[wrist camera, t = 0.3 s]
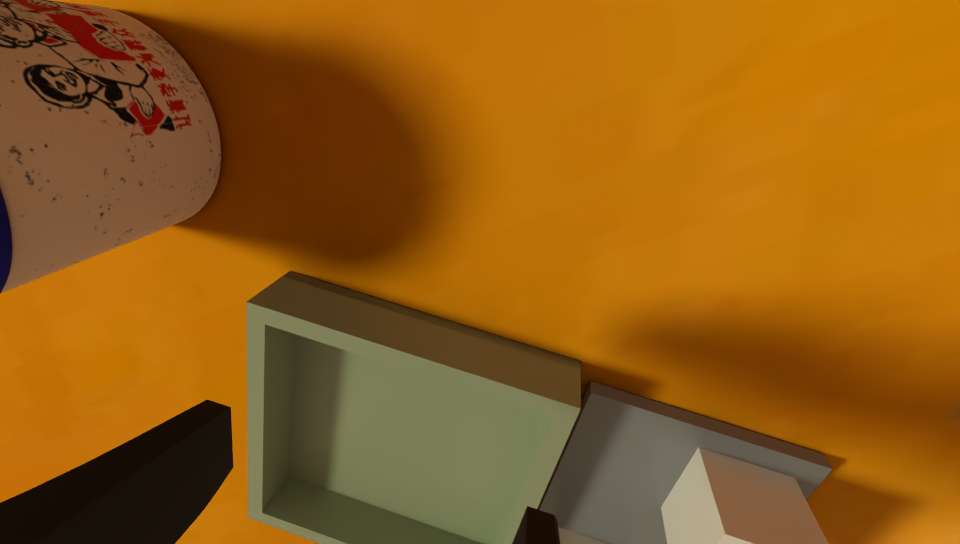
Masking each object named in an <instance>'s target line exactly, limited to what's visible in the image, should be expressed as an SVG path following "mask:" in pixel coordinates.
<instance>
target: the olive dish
mask: <svg viewBox="0 0 960 544" xmlns="http://www.w3.org/2000/svg"><path fill="white" fill-rule="evenodd" d="M580 409H581V362H580V361H577V360H574V359H571V358H567V357H564V356H561V355H558V354H555V353H551V352H548V351H545V350H542V349H539V348H535V347H532V346H529V345H526V344H522V343H519V342H516V341H513V340H510V339H506V338H503V337H500V336H497V335H494V334H490V333H487V332H484V331H481V330H477V329H474V328H471V327H468V326H465V325H461V324H458V323H455V322H452V321H449V320H445V319H442V318H439V317H436V316H432V315H429V314H426V313H423V312H420V311H416V310H413V309H410V308H407V307H404V306H400V305H397V304H394V303H391V302H387V301H384V300H381V299H378V298H375V297H371V296H368V295H365V294H362V293H359V292H355V291H352V290H349V289H346V288H343V287H339V286H336V285H333V284H330V283H326V282H323V281H320V280H317V279H314V278H310V277H307V276H304V275H301V274H298V273H294V272H291V271H289V272H288V273H286V274H285V275H284V276H282V277H281V278H279V279H278V280H277V281H275V282H274V283H272V284H271V285H270V286H268V287H267V288H265V289H264V290H263V291H261V292H260V293H258V294H257V295H256V296H254V297H253V298H251V299H250V300H248V301H247V432H248V518H251V519H254V520H257V521H259V522H262V523H265V524H268V525H270V526H273V527H276V528H279V529H281V530H284V531H287V532H290V533H292V534H295V535H298V536H301V537H304V538H306V539H309V540H312V541H315V542H317V543H320V544H512V543H513V540H514V538H515V535H516V533H517V530H518V528H519V525H520V523H521V520H522V518H523V515H524V513H525V510H526V508H527V506H529V507H532V508H535V509H537V508H538V506H539V503H540V501H541V499H542V496H543V494H544V492H545V490H546V487H547V485H548V483H549V480H550V478H551V476H552V473H553V471H554V469H555V467H556V464H557V462H558V460H559V457H560V455H561V453H562V451H563V448H564V446H565V444H566V441H567V439H568V437H569V435H570V432H571V430H572V428H573V425H574V423H575V421H576V419H577V416H578V414H579V412H580Z"/></svg>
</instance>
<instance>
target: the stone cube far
mask: <svg viewBox="0 0 960 544" xmlns="http://www.w3.org/2000/svg"><path fill="white" fill-rule="evenodd" d="M558 531H559V538H560V544H607V543H604V542H601V541H598V540H595V539H592V538H589V537H586V536H583V535H580V534H577V533H575V532H572V531H569V530H566V529H563V528H560V527H558Z"/></svg>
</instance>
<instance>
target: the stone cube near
mask: <svg viewBox="0 0 960 544" xmlns="http://www.w3.org/2000/svg"><path fill="white" fill-rule="evenodd" d="M661 511H662V517H663V522H664V528H665V533H666V539H667V544H828V542H827V540H826V538H825V536H824V534H823V532H822V530H821V528H820V526H819V524H818V522H817V520H816V518H815V516H814V515H813V513H812V511H811V509H810V507H809V505H808V503H807V501H806V499H805V497H804V495H803V493H802V491H801V489H800V487H799V485H798V483H797V481H796V479H795V478H794V477H791V476H788V475H785V474H782V473H779V472H775V471H772V470H769V469H766V468H763V467H760V466H757V465H754V464H750V463H747V462H744V461H741V460H738V459H735V458H732V457H729V456H725V455H722V454H719V453H716V452H713V451H710V450H707V449H704V448H700V447H698V449H697V450H696V452H695V454H694V455H693V457H692V458H691V460H690V462H689V463H688V465H687V466H686V468H685V470H684V471H683V473H682V474H681V476H680V478H679V479H678V481H677V482H676V484H675V486H674V487H673V489H672V490H671V492H670V494H669V495H668V497H667V498H666V500H665V502H664V503H663V505H662V506H661Z"/></svg>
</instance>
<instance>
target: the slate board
mask: <svg viewBox="0 0 960 544" xmlns="http://www.w3.org/2000/svg"><path fill="white" fill-rule="evenodd" d="M698 447H700V448H704V449H707V450H710V451H713V452H716V453H719V454H722V455H725V456H729V457H732V458H735V459H738V460H741V461H744V462H747V463H750V464H754V465H757V466H760V467H763V468H766V469H769V470H772V471H775V472H779V473H782V474H785V475H788V476H791V477H794V478H795V479H796V481H797V483H798V485H799V487H800V489H801V491H802V493H803V495H804V497H805V499H806V500H807V499H808V498H809V497H810V496H811V494H812V493H813V492H814V491H815V490H816V489H817V487H818V486H819V485H820V484H821V483H822V481H823V480H824V479H825V478H826V477H827V475H828V474H829V473H830V472H831V471H832V467H831V465H830V464H829V462H828V461H827V459H826V457H825V456H824V454H822V453H819V452H816V451H812V450H809V449H806V448H803V447H800V446H796V445H793V444H790V443H787V442H784V441H781V440H777V439H774V438H771V437H768V436H765V435H761V434H758V433H755V432H752V431H749V430H746V429H742V428H739V427H736V426H733V425H730V424H726V423H723V422H720V421H717V420H714V419H711V418H707V417H704V416H701V415H698V414H695V413H691V412H688V411H685V410H682V409H679V408H676V407H672V406H669V405H666V404H663V403H660V402H656V401H653V400H650V399H647V398H644V397H640V396H637V395H634V394H631V393H628V392H625V391H621V390H618V389H615V388H612V387H609V386H605V385H602V384H599V383H596V382H593V381H590V384H589V386H588V388H587V390H586V393H585V395H584V397H583V400H582V402H581V409H580V412H579V414H578V416H577V419H576V421H575V423H574V425H573V428H572V430H571V432H570V435H569V437H568V439H567V441H566V444H565V446H564V448H563V451H562V453H561V455H560V457H559V460H558V462H557V464H556V467H555V469H554V471H553V473H552V476H551V478H550V480H549V483H548V485H547V487H546V490H545V492H544V494H543V496H542V499H541V501H540V503H539V506H538V508H537V509H538V510H541V511H544V512H547V513H550V514H553V515H554V516H555V517H556V519H557V522H558V527H560V528H563V529H566V530H569V531H572V532H575V533H577V534H580V535H583V536H586V537H589V538H592V539H595V540H598V541H601V542H604V543H607V544H667V539H666V533H665V528H664V522H663V517H662V511H661V506H662V505H663V503H664V502H665V500H666V498H667V497H668V495H669V494H670V492H671V490H672V489H673V487H674V486H675V484H676V482H677V481H678V479H679V478H680V476H681V474H682V473H683V471H684V470H685V468H686V466H687V465H688V463H689V462H690V460H691V458H692V457H693V455H694V454H695V452H696V450H697V449H698Z"/></svg>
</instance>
